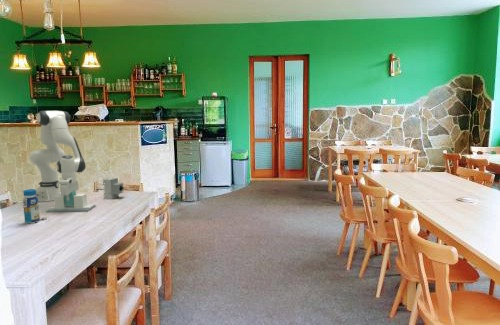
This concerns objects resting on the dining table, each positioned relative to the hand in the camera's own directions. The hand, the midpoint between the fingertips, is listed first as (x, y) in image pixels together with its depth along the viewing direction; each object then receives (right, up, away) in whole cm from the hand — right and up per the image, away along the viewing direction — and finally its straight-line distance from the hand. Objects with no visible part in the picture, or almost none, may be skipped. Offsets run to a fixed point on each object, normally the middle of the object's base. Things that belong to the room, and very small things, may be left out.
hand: (70, 199), depth 273 cm
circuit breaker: (+19, -2, +35) cm, 40 cm away
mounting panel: (0, -7, +1) cm, 7 cm away
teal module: (0, -4, +1) cm, 4 cm away
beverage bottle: (-10, -12, -29) cm, 33 cm away
